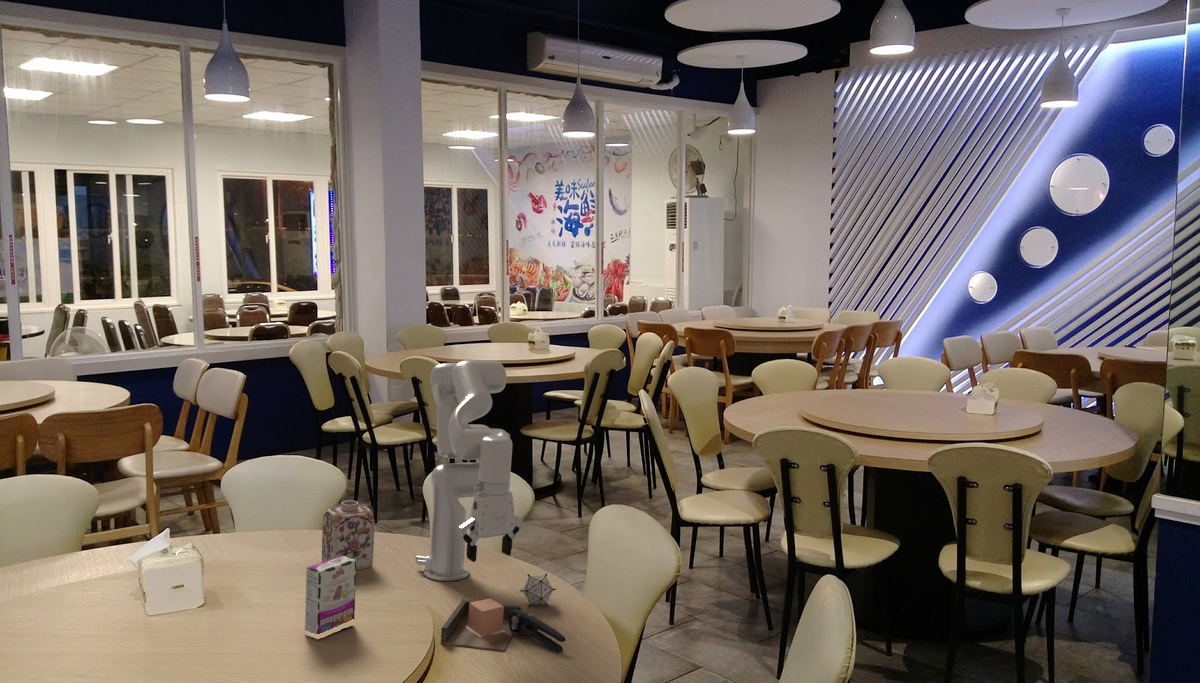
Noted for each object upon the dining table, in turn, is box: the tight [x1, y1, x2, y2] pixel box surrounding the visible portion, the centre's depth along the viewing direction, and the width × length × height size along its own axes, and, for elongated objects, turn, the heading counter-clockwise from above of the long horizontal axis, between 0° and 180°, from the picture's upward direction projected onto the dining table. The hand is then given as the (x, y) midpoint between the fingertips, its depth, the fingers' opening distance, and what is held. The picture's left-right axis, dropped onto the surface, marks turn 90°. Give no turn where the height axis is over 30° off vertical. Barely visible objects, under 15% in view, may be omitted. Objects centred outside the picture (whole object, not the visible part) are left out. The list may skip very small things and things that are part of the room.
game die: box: [519, 572, 557, 608], centre depth 234 cm, size 9×8×10 cm
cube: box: [468, 598, 504, 636], centre depth 215 cm, size 6×6×6 cm
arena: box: [440, 599, 522, 652], centre depth 214 cm, size 15×18×4 cm
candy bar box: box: [304, 556, 357, 634], centre depth 209 cm, size 11×5×16 cm, turn 148°
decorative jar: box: [321, 500, 375, 570], centre depth 254 cm, size 12×12×18 cm
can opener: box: [508, 608, 566, 652], centre depth 212 cm, size 18×7×6 cm, turn 48°
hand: (489, 556), depth 214 cm, fingers open, 9 cm apart
